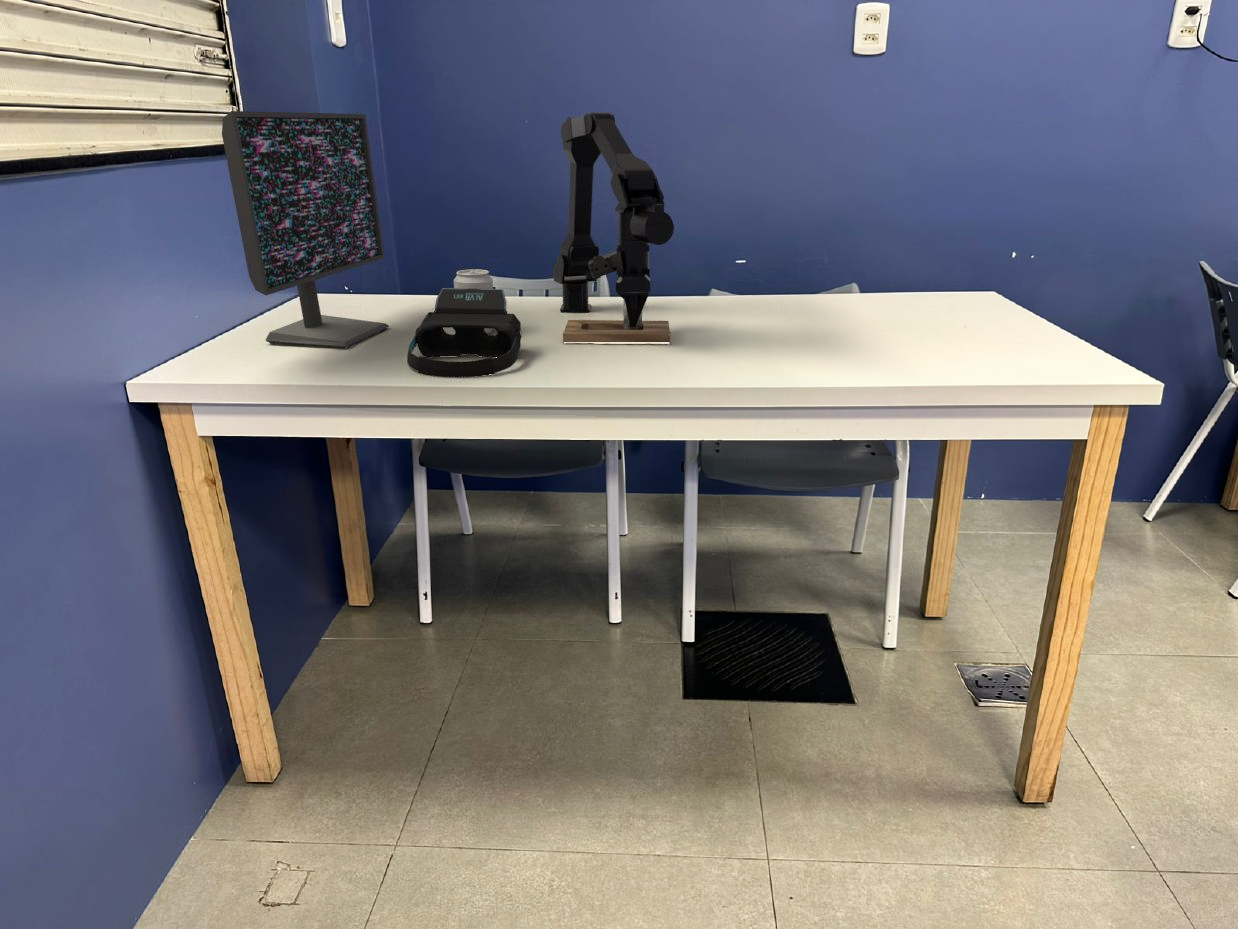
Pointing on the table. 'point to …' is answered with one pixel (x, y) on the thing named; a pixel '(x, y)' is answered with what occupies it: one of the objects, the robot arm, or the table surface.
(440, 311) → the virtual reality headset
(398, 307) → the table surface
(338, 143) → the computer monitor
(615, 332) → the keyhole board
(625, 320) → the peg
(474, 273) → the can
